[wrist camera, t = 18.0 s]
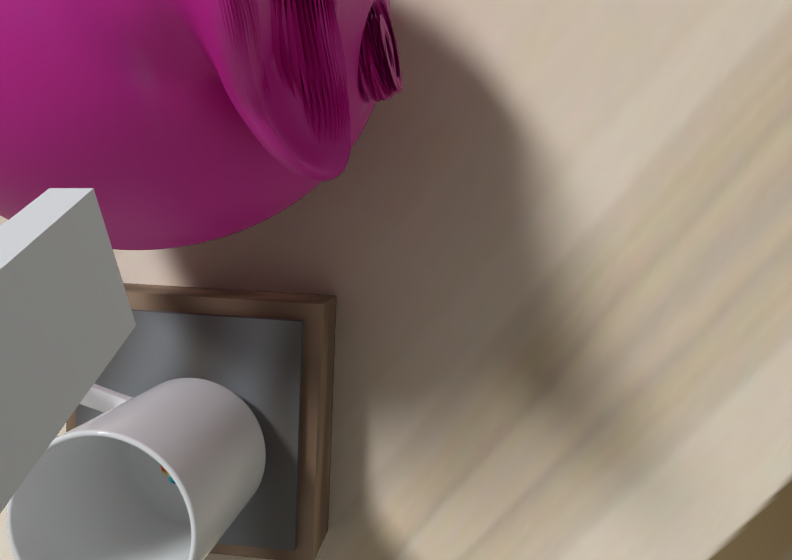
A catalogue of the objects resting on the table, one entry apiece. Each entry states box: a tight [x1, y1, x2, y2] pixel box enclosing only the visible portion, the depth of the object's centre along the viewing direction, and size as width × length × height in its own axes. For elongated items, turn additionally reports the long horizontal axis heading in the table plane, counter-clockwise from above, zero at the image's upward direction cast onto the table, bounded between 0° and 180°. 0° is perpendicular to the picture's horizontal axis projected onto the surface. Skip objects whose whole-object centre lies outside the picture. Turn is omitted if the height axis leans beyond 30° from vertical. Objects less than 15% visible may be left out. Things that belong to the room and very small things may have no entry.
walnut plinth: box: [66, 283, 336, 560], centre depth 43 cm, size 16×16×5 cm
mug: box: [7, 378, 266, 560], centre depth 35 cm, size 12×9×11 cm
